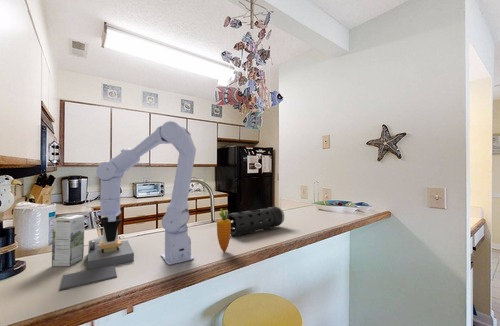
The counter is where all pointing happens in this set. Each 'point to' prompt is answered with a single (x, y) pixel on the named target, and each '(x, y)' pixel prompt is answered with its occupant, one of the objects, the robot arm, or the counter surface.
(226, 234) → the carrot
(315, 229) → the counter surface
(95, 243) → the clip
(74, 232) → the syrup box
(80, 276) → the mat
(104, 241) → the plug
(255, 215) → the muzzle brake
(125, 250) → the socket block
